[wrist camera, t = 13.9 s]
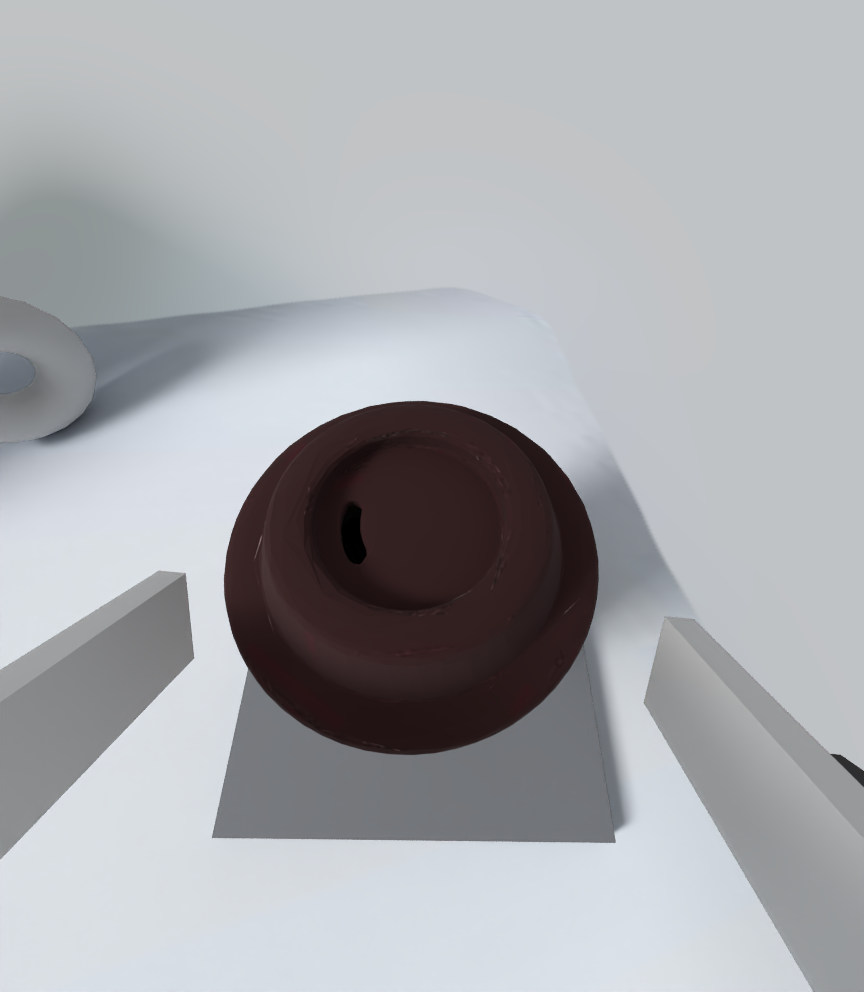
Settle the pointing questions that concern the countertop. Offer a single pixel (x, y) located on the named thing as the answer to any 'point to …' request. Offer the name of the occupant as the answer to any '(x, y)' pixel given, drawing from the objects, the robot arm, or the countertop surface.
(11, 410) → the donut
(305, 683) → the coffee cup
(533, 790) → the mat
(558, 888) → the countertop surface
